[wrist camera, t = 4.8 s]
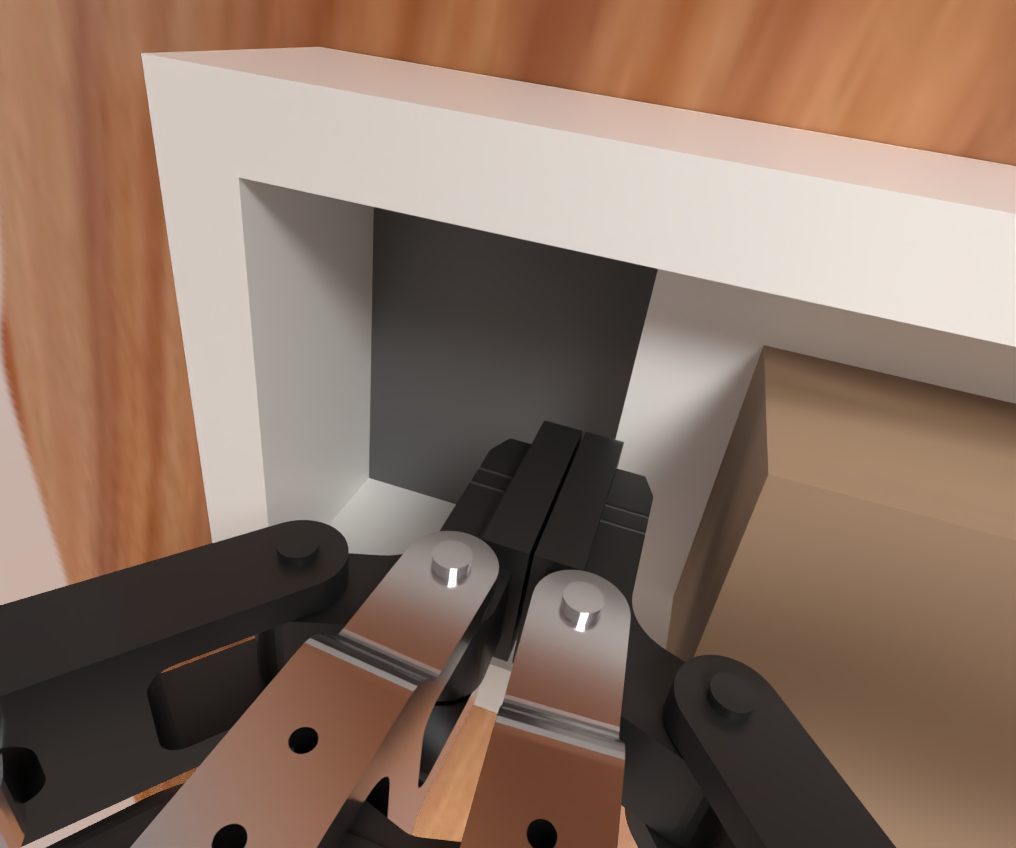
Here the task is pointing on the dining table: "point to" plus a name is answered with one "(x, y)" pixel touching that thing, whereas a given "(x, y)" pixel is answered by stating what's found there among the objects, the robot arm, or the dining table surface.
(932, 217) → the tray
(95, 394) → the dining table surface
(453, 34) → the dining table surface
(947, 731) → the walnut block
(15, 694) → the robot arm
